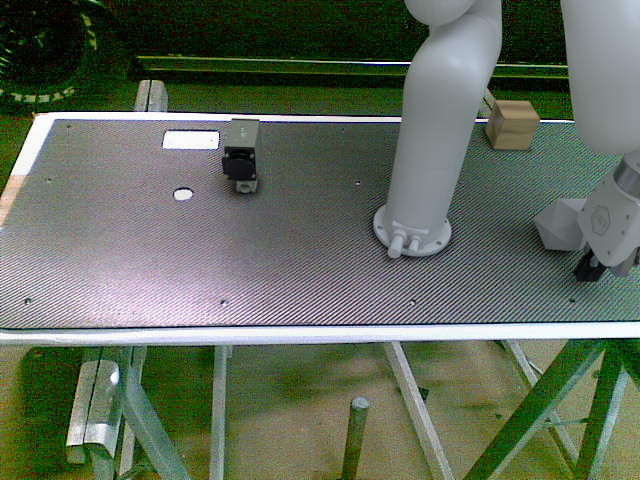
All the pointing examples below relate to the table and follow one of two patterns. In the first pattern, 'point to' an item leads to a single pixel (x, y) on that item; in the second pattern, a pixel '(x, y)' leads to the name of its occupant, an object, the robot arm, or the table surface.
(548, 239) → the die
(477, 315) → the table surface
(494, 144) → the maple block
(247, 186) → the pneumatic valve
